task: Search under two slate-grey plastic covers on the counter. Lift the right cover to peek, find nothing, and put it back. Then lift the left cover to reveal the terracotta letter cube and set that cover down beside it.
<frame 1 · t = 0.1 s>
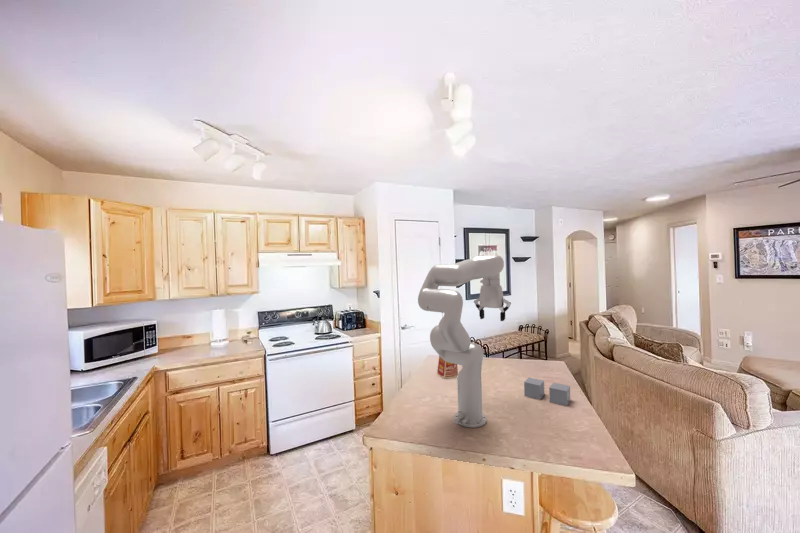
hand: (492, 319, 147), 37 cm above the kitchen island, tool pointing down, fingers open, 9 cm apart
letter cube: (534, 390, 150), in the left cover
left cover: (534, 395, 150), on the kitchen island
right cover: (560, 401, 143), on the kitchen island
milk carton: (448, 375, 178), on the kitchen island
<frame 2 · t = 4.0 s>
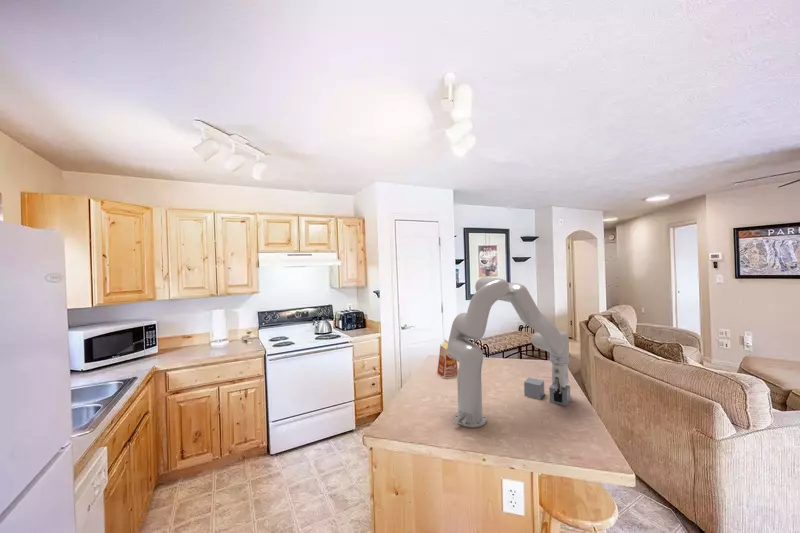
hand: (560, 398, 143), 1 cm above the kitchen island, tool pointing down, fingers closed on right cover, 7 cm apart
right cover: (560, 401, 143), on the kitchen island, touching gripper
everything else where it was.
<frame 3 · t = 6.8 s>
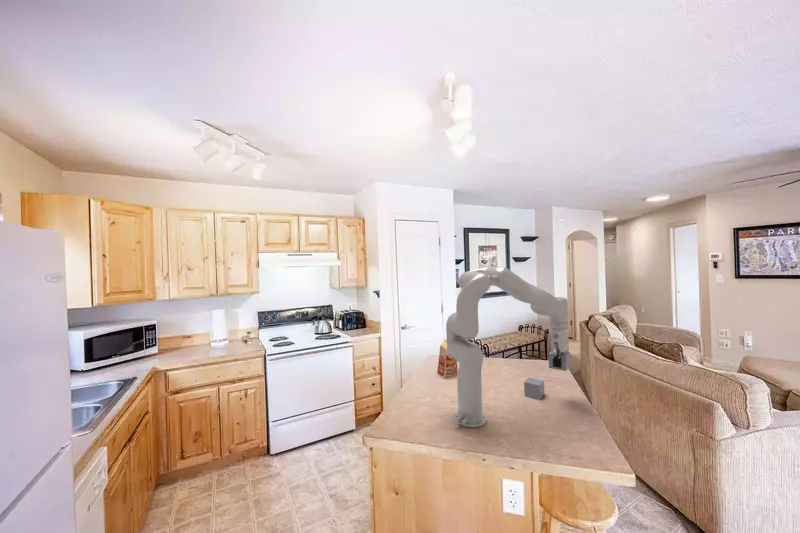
hand: (559, 364, 143), 17 cm above the kitchen island, tool pointing down, fingers closed on right cover, 7 cm apart
right cover: (559, 367, 143), point 15 cm above the kitchen island, touching gripper
everything else where it was.
when the fingers open (3 cm above the kitchen island, at t = 10.0 s): right cover drops 1 cm, on the kitchen island.
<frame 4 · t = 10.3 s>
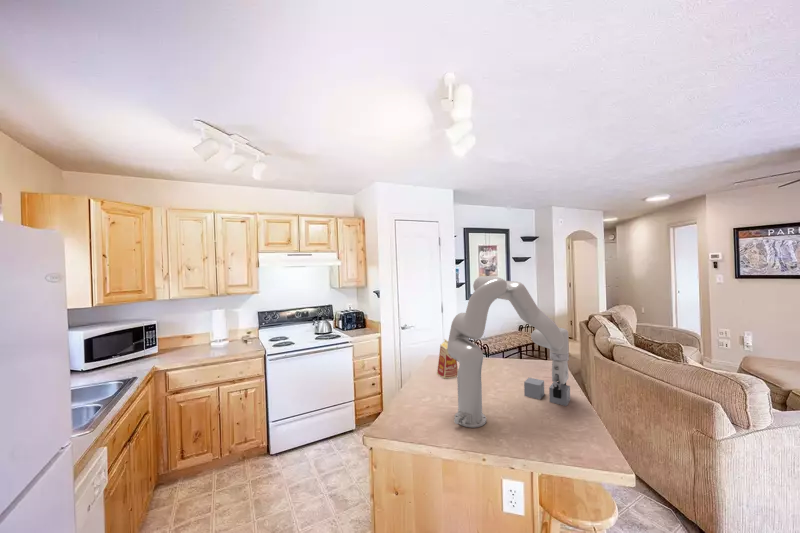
hand: (559, 393, 143), 3 cm above the kitchen island, tool pointing down, fingers open, 9 cm apart
right cover: (559, 401, 143), on the kitchen island
everything else where it was.
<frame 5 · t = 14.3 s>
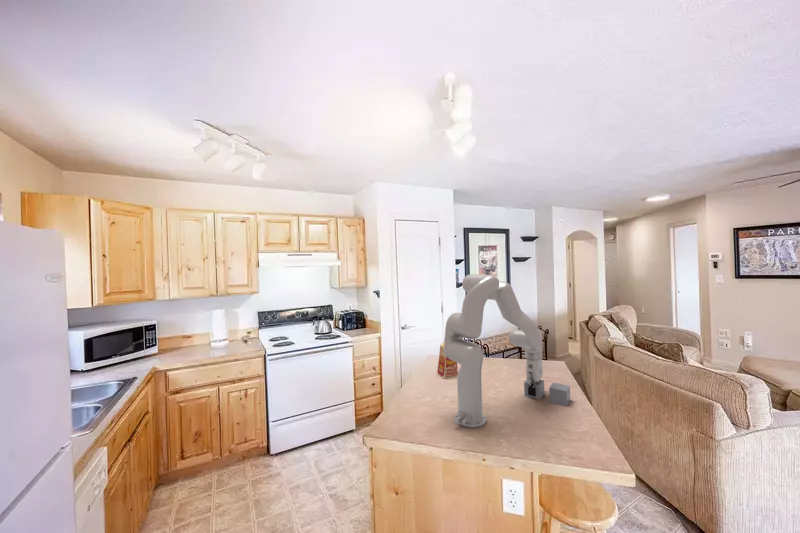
hand: (534, 392, 150), 1 cm above the kitchen island, tool pointing down, fingers closed on left cover, 7 cm apart
left cover: (534, 394, 150), on the kitchen island, touching gripper
everything else where it was.
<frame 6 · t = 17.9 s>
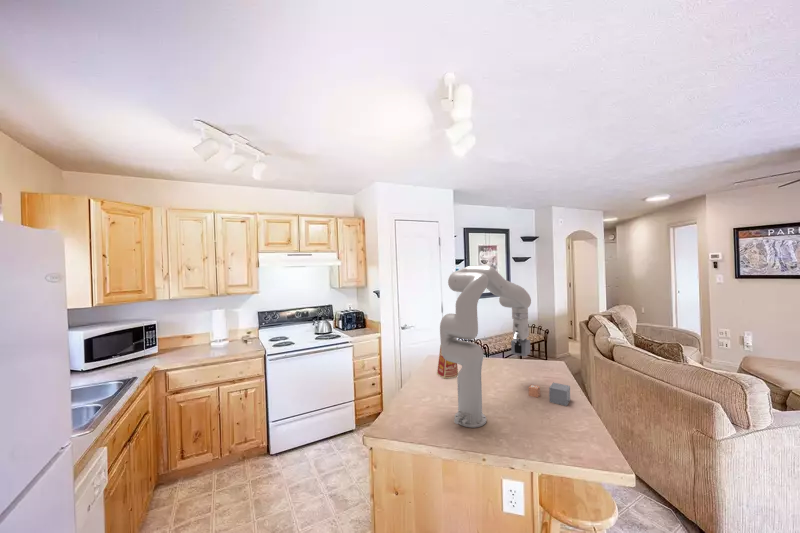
hand: (520, 350, 160), 18 cm above the kitchen island, tool pointing down, fingers closed on left cover, 7 cm apart
left cover: (521, 353, 160), point 17 cm above the kitchen island, touching gripper
everything else where it was.
when the fingers open (3 cm above the kitchen island, at t = 21.5 s): left cover drops 1 cm, on the kitchen island.
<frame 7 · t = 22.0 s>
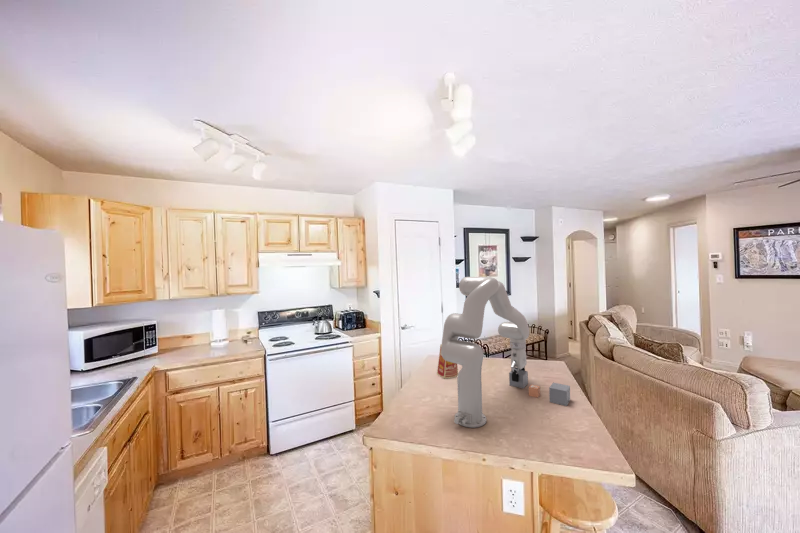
hand: (518, 378, 163), 3 cm above the kitchen island, tool pointing down, fingers open, 9 cm apart
left cover: (518, 384, 163), on the kitchen island
everything else where it was.
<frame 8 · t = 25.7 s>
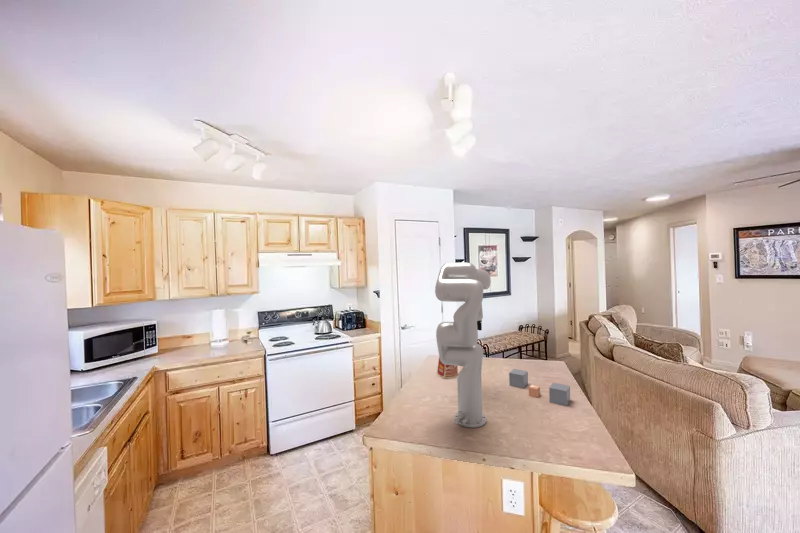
hand: (474, 331, 160), 28 cm above the kitchen island, tool pointing down, fingers open, 9 cm apart
nothing on the kitchen island moved.
at the end: left cover inside the target area (0.1 cm from its centre), on the kitchen island; left cover tilted 0°; right cover moved 0.0 cm from its start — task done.
